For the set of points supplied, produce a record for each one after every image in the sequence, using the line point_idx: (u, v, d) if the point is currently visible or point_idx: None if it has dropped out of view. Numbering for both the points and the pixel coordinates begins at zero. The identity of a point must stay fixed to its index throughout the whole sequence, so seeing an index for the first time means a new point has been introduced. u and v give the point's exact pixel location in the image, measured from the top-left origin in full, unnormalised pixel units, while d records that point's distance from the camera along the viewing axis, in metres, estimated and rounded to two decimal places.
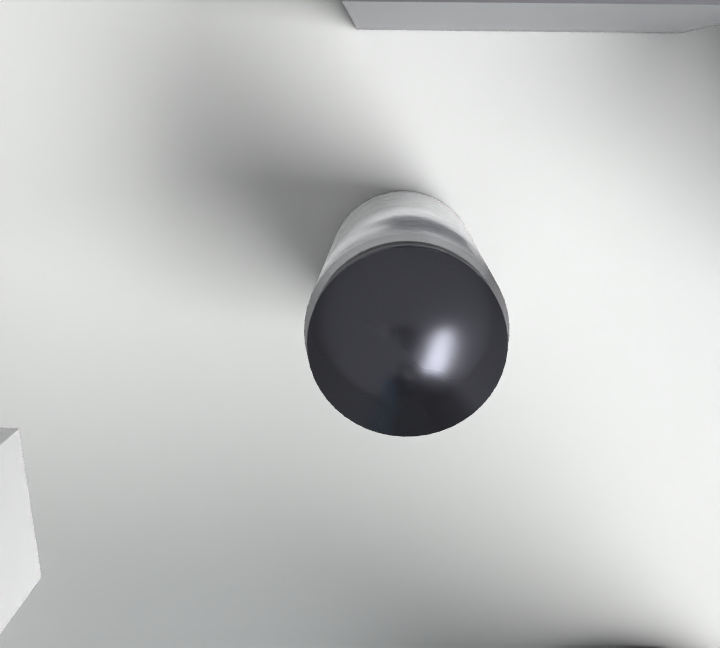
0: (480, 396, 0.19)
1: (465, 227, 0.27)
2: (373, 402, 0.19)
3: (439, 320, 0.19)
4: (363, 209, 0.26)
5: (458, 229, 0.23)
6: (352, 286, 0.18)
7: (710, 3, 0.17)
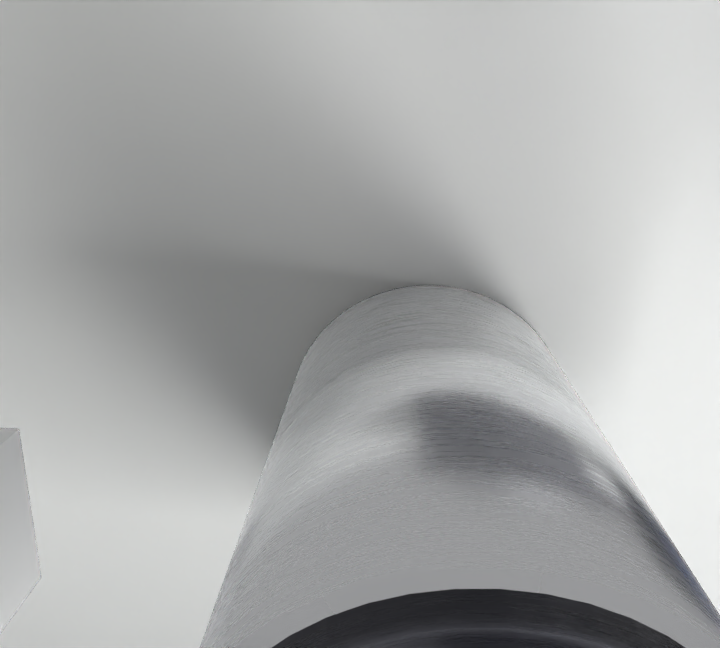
0: None
1: None
2: None
3: None
4: (352, 335, 0.12)
5: (583, 426, 0.09)
6: None
7: None
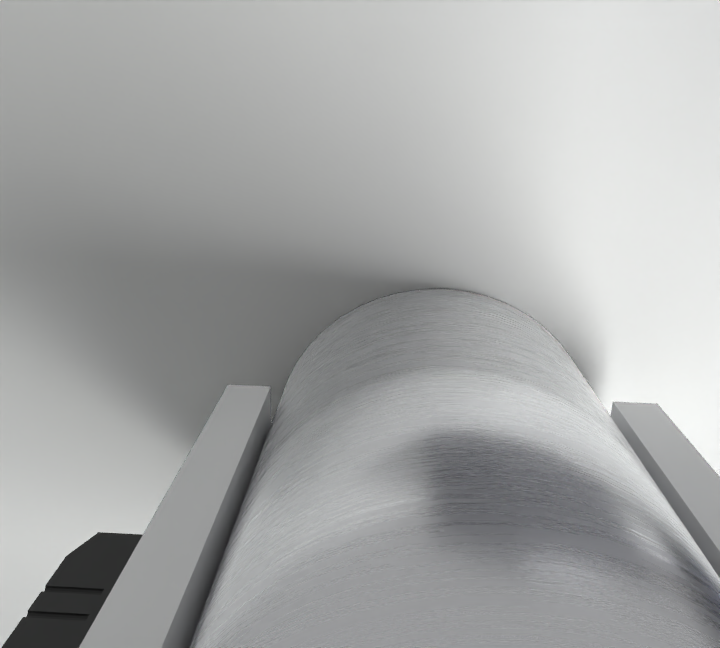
0: None
1: None
2: None
3: None
4: (346, 351, 0.10)
5: (635, 476, 0.07)
6: None
7: None
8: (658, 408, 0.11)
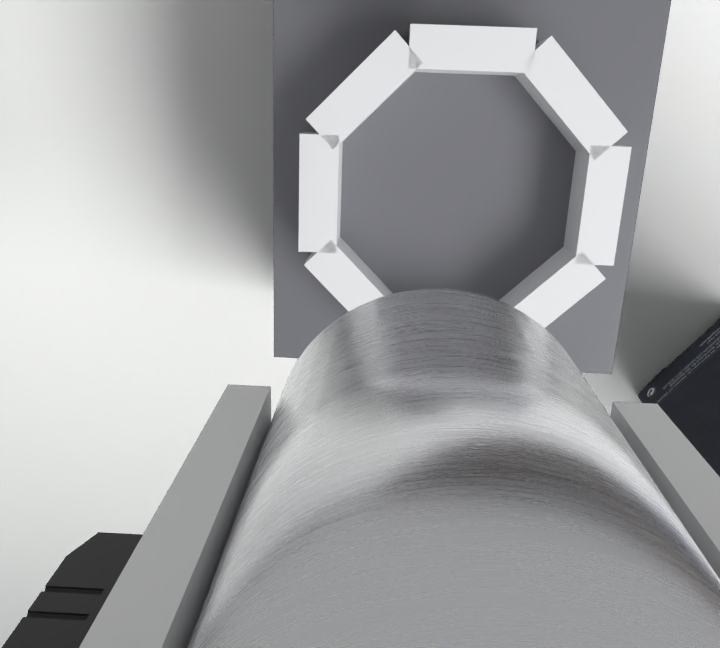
0: None
1: None
2: None
3: None
4: (345, 351, 0.10)
5: (634, 477, 0.07)
6: None
7: None
8: (658, 408, 0.11)
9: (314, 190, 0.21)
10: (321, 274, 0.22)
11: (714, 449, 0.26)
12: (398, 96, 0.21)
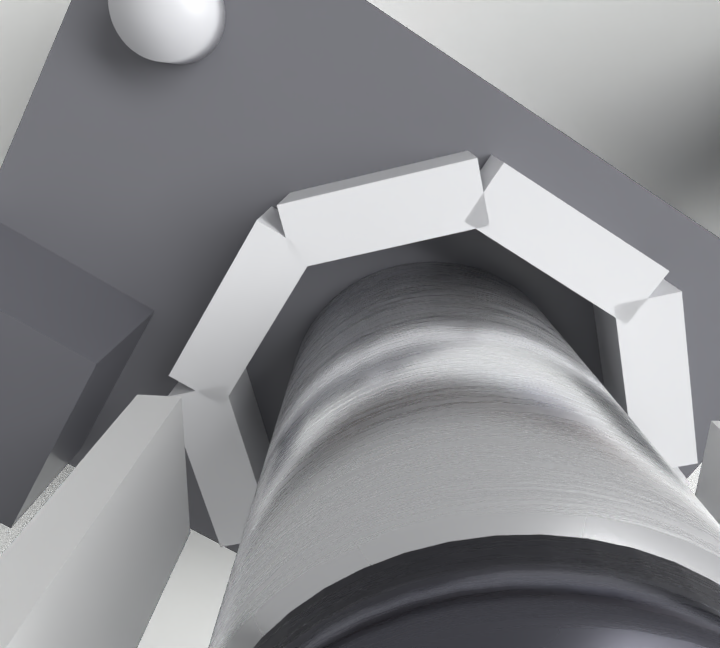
0: None
1: None
2: None
3: None
4: (357, 309, 0.12)
5: (600, 389, 0.09)
6: None
7: None
8: None
9: None
10: None
11: None
12: (264, 398, 0.15)
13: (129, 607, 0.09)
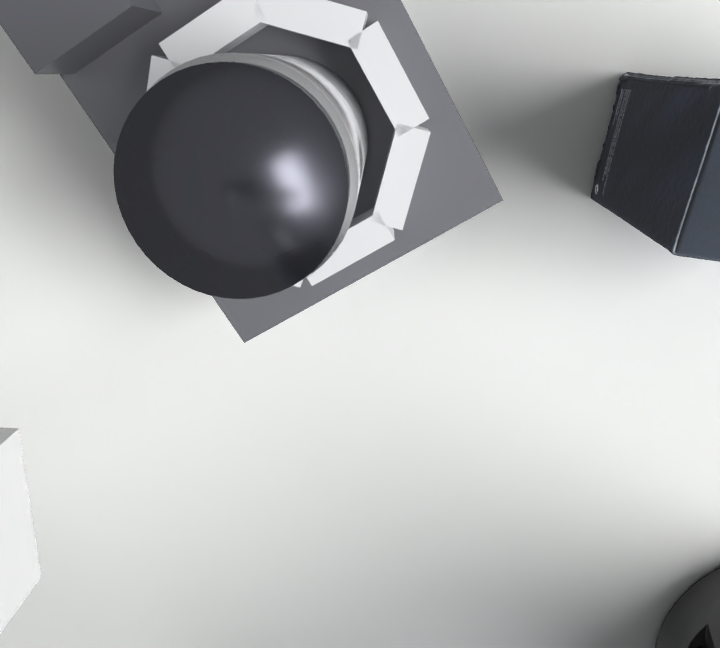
0: (282, 281, 0.17)
1: (367, 137, 0.25)
2: (167, 230, 0.17)
3: (278, 177, 0.16)
4: None
5: (354, 118, 0.20)
6: (203, 87, 0.15)
7: (446, 230, 0.26)
8: None
9: None
10: None
11: (643, 206, 0.27)
12: None
13: None
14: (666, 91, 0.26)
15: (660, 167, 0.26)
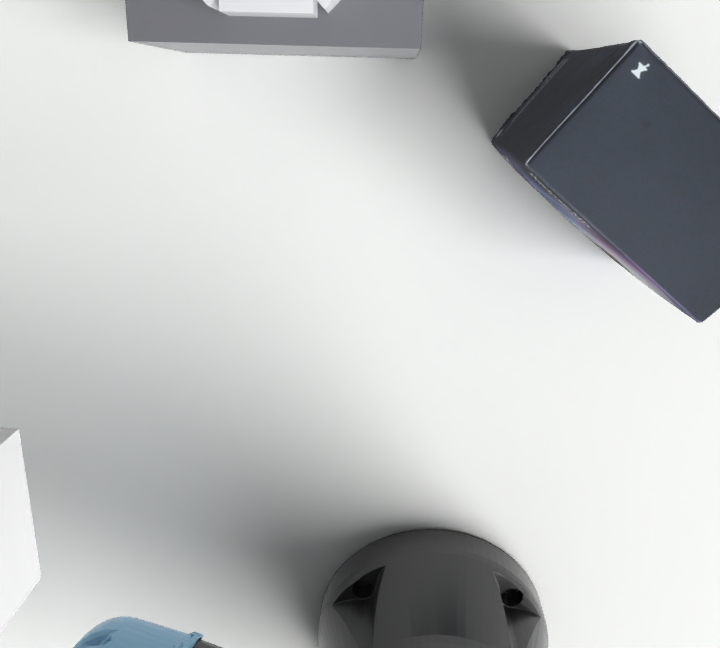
0: None
1: None
2: None
3: None
4: None
5: None
6: None
7: (360, 46, 0.27)
8: None
9: None
10: None
11: (525, 135, 0.29)
12: None
13: None
14: (592, 53, 0.29)
15: (555, 105, 0.28)
